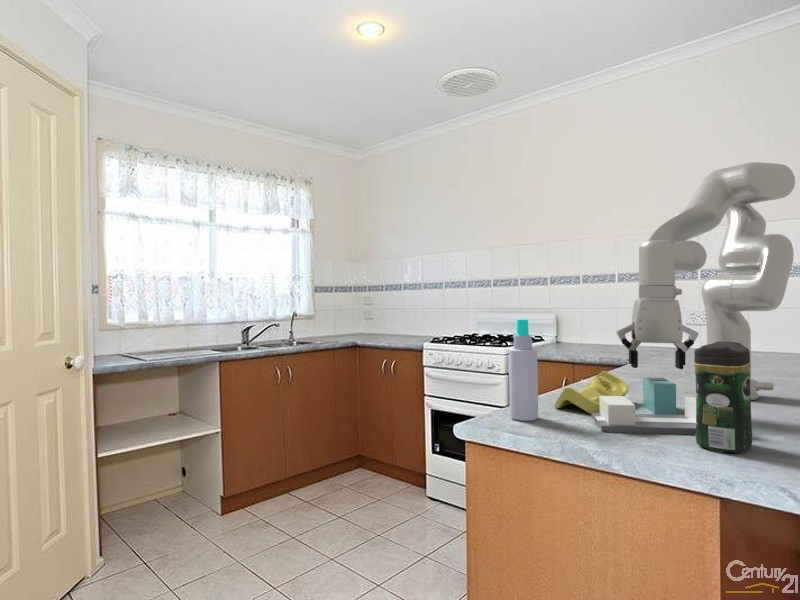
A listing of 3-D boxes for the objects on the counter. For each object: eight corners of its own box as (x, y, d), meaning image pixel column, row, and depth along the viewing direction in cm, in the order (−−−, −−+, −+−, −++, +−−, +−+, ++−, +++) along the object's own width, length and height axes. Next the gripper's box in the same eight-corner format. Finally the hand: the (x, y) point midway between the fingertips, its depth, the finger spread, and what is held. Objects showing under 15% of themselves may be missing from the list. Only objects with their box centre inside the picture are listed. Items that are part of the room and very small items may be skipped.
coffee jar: (706, 436, 95) (705, 338, 95) (756, 445, 90) (755, 340, 89) (689, 447, 89) (687, 342, 89) (742, 457, 83) (740, 345, 83)
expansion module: (663, 406, 121) (662, 376, 121) (676, 415, 112) (675, 383, 112) (643, 406, 122) (642, 376, 122) (654, 415, 113) (654, 383, 113)
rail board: (716, 421, 106) (716, 396, 106) (741, 436, 95) (741, 408, 95) (591, 418, 111) (591, 394, 111) (601, 431, 100) (601, 405, 100)
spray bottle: (544, 418, 111) (542, 319, 111) (526, 423, 108) (524, 320, 108) (522, 413, 116) (520, 318, 116) (504, 418, 113) (502, 319, 112)
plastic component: (601, 407, 112) (562, 383, 118) (588, 433, 114) (551, 409, 121) (635, 387, 126) (599, 367, 132) (623, 411, 128) (588, 390, 134)
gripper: (691, 294, 119) (691, 366, 118) (613, 294, 122) (613, 364, 122) (704, 293, 111) (704, 371, 111) (620, 293, 115) (620, 369, 114)
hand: (656, 367), depth 116 cm, fingers open, 9 cm apart
